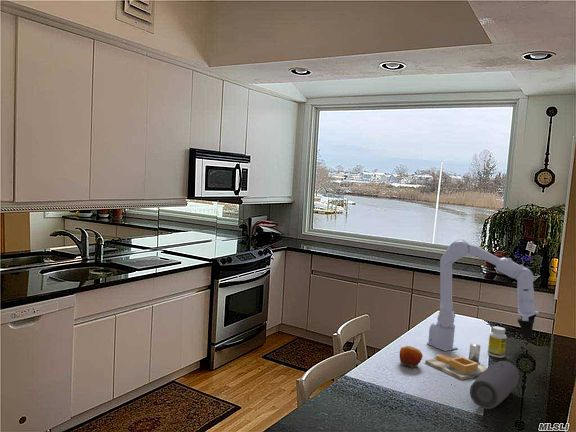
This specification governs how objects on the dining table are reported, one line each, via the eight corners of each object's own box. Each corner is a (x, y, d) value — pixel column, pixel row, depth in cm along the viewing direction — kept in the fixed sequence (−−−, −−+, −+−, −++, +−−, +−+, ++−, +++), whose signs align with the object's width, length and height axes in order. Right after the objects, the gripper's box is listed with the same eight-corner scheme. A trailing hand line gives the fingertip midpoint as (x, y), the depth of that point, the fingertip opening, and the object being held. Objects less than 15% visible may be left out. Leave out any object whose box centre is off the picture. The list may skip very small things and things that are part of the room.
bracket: (433, 359, 176) (433, 352, 176) (445, 356, 180) (445, 349, 179) (465, 373, 164) (465, 366, 164) (477, 370, 168) (478, 363, 168)
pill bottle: (502, 359, 183) (505, 331, 183) (485, 355, 187) (488, 327, 186) (506, 355, 188) (509, 328, 188) (490, 351, 192) (492, 324, 191)
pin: (466, 359, 181) (468, 344, 180) (472, 358, 183) (474, 343, 182) (474, 363, 178) (476, 347, 177) (480, 361, 180) (482, 346, 179)
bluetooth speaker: (489, 384, 159) (492, 355, 159) (519, 393, 154) (522, 363, 153) (465, 406, 142) (469, 374, 141) (498, 418, 136) (502, 384, 135)
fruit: (394, 363, 168) (399, 341, 171) (398, 368, 174) (403, 347, 178) (417, 369, 164) (422, 346, 168) (420, 374, 171) (425, 352, 174)
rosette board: (425, 362, 174) (425, 359, 174) (453, 356, 183) (454, 353, 183) (464, 381, 160) (464, 377, 160) (493, 373, 169) (493, 370, 169)
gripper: (536, 304, 173) (538, 341, 173) (539, 296, 185) (540, 330, 186) (515, 303, 177) (517, 339, 177) (519, 295, 189) (520, 329, 189)
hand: (528, 335), depth 182 cm, fingers open, 7 cm apart
